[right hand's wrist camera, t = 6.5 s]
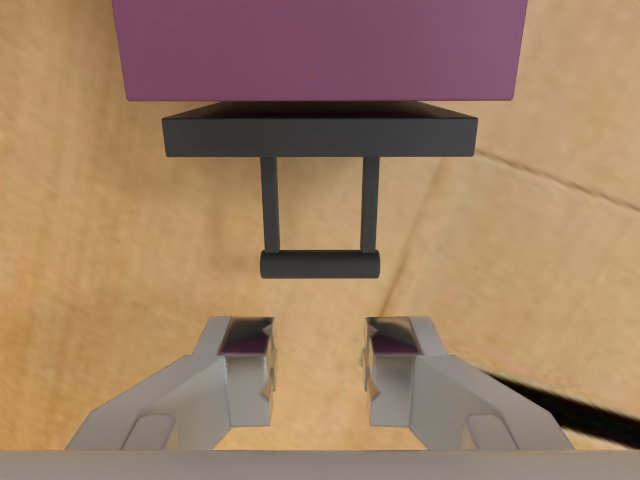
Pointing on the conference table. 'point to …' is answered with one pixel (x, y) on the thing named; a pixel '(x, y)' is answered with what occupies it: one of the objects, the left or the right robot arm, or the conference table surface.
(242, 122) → the drawer
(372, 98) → the cabinet
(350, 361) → the conference table surface
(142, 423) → the right robot arm
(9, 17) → the conference table surface
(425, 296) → the conference table surface
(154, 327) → the conference table surface
